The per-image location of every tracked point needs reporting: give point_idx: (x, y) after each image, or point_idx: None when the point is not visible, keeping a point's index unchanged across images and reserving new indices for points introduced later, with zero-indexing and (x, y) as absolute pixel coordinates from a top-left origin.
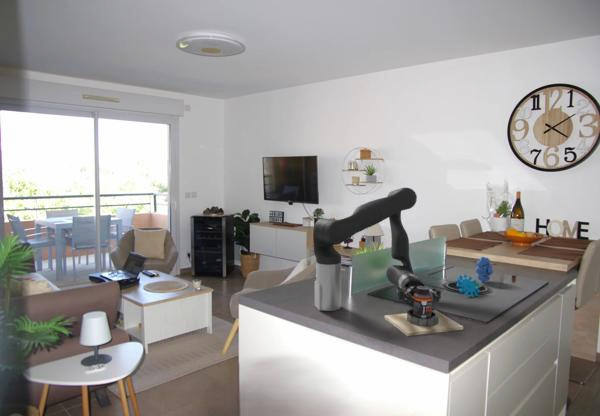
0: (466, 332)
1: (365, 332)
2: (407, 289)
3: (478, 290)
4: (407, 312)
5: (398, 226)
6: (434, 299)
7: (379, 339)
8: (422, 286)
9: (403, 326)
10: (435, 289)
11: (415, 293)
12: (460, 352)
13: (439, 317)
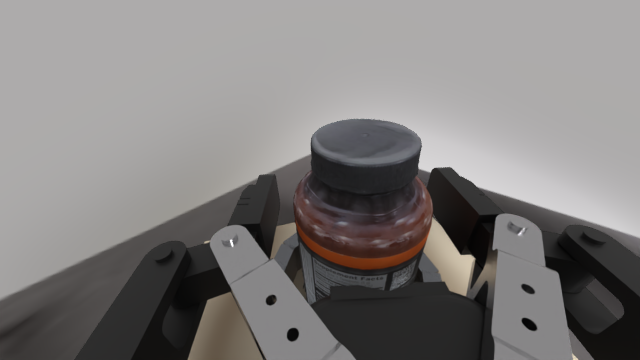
0: (216, 230)
1: (555, 222)
2: (550, 269)
3: None
4: None
5: None
6: (274, 219)
7: (482, 189)
8: (365, 152)
9: (433, 236)
10: (128, 341)
11: (420, 187)
12: (301, 158)
13: (234, 355)
